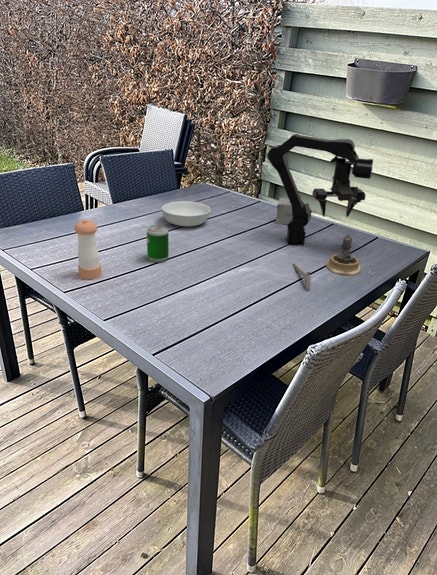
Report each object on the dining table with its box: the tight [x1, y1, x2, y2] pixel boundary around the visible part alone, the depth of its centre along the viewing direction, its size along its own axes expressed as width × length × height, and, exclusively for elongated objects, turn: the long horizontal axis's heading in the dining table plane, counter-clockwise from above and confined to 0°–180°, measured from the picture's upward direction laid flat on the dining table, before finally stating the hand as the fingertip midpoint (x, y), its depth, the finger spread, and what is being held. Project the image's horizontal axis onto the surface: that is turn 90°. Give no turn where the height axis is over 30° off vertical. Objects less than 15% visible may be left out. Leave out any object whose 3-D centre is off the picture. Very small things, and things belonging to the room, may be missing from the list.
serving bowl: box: [161, 200, 212, 227], centre depth 205 cm, size 21×21×7 cm
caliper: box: [292, 262, 312, 291], centre depth 162 cm, size 20×1×6 cm, turn 5°
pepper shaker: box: [74, 218, 102, 280], centre depth 153 cm, size 7×7×19 cm
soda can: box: [146, 224, 170, 263], centre depth 169 cm, size 8×8×12 cm
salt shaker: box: [336, 233, 354, 264], centre depth 167 cm, size 6×6×12 cm
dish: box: [325, 253, 362, 277], centre depth 170 cm, size 12×12×4 cm
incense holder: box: [275, 197, 293, 225], centre depth 210 cm, size 10×8×10 cm
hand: (335, 216), depth 181 cm, fingers open, 9 cm apart
